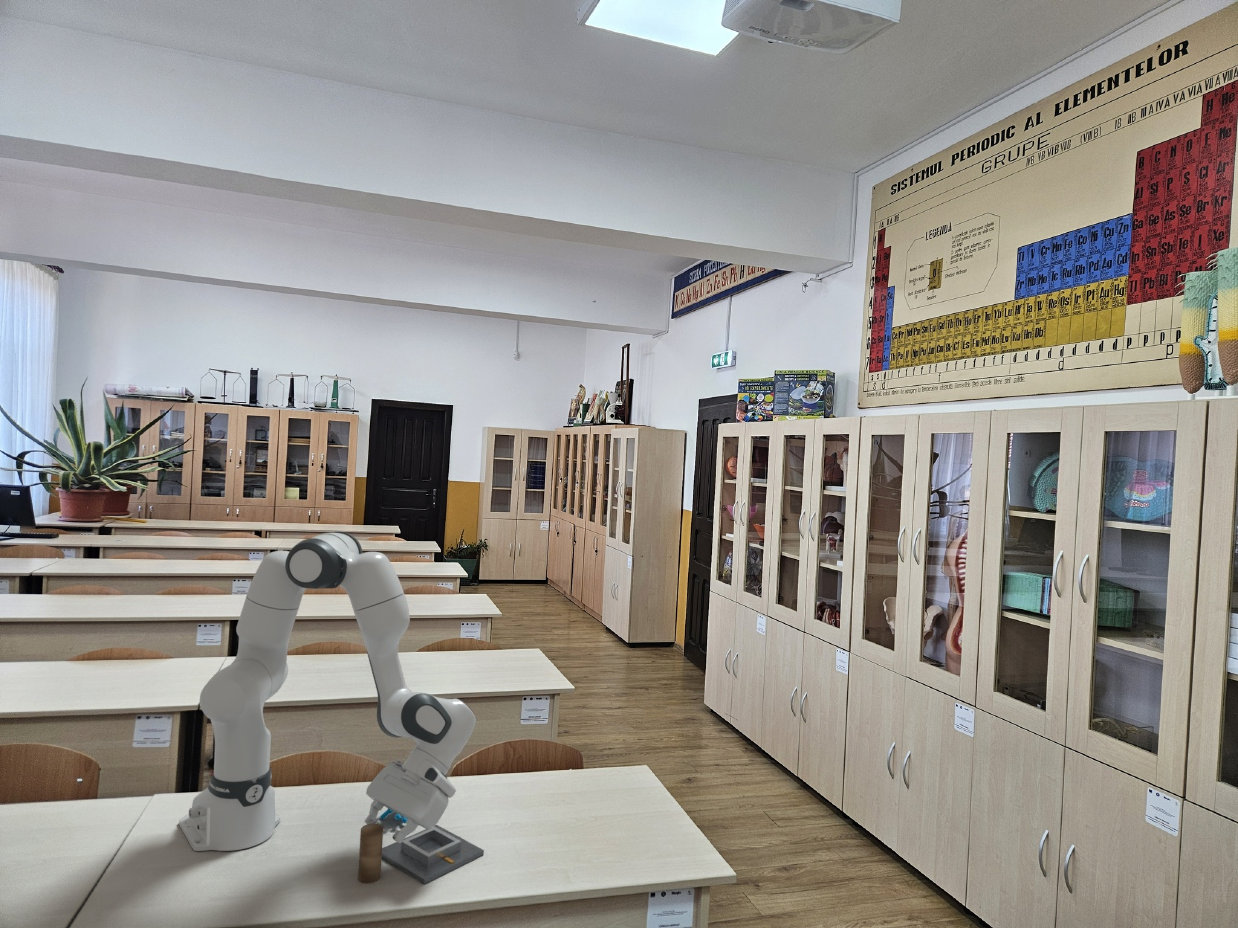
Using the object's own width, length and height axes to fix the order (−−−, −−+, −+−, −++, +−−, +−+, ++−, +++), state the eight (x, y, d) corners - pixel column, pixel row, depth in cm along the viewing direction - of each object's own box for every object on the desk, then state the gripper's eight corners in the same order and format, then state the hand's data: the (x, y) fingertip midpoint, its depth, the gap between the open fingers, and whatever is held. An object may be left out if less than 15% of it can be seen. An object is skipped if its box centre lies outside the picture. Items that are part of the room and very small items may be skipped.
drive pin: (353, 876, 158) (356, 828, 158) (372, 868, 162) (374, 821, 161) (366, 885, 155) (369, 836, 155) (384, 876, 159) (387, 828, 159)
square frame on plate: (376, 854, 167) (377, 840, 167) (436, 828, 180) (437, 815, 180) (424, 884, 157) (425, 869, 157) (483, 854, 170) (484, 840, 170)
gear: (407, 824, 177) (380, 789, 179) (387, 842, 177) (360, 807, 178) (421, 809, 188) (396, 776, 190) (403, 825, 188) (377, 792, 189)
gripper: (385, 750, 172) (343, 808, 165) (446, 779, 160) (404, 843, 152) (401, 764, 176) (361, 822, 168) (461, 793, 164) (421, 857, 156)
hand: (381, 832), depth 160 cm, fingers open, 8 cm apart
